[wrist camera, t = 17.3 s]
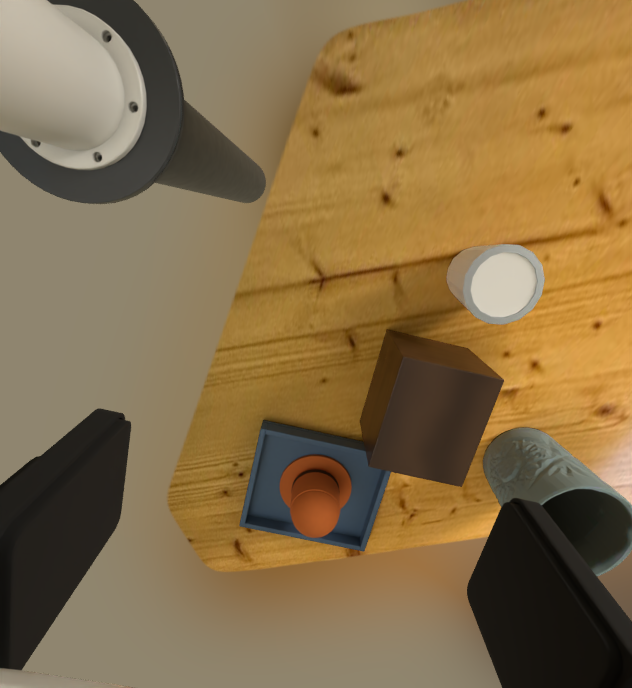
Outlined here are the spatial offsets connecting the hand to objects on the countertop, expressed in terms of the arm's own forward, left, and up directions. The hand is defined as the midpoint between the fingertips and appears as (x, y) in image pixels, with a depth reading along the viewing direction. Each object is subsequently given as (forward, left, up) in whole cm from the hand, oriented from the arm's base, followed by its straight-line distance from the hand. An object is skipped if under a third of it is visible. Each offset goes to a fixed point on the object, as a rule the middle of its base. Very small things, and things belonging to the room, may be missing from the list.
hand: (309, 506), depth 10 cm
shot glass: (+15, +5, -34) cm, 37 cm away
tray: (+5, -22, -33) cm, 40 cm away
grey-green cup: (+27, -14, -34) cm, 45 cm away
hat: (+5, -23, -33) cm, 40 cm away
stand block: (+13, -8, -33) cm, 36 cm away
